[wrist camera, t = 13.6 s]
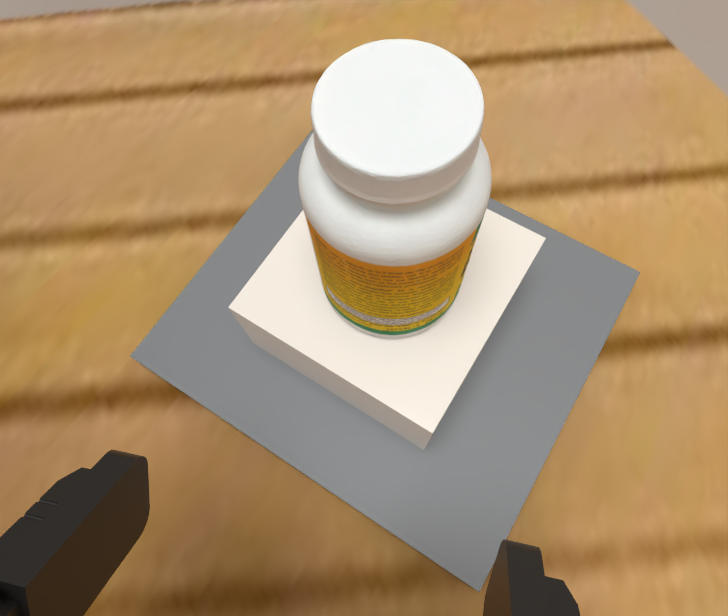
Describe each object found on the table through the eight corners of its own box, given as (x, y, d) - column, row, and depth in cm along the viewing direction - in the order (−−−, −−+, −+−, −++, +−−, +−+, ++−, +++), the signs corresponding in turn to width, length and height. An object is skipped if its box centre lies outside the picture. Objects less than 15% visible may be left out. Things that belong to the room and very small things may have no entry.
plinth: (253, 343, 26) (228, 307, 21) (359, 199, 28) (354, 142, 24) (424, 450, 24) (432, 433, 19) (519, 284, 26) (546, 238, 22)
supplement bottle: (311, 231, 22) (263, 35, 14) (439, 205, 23) (475, -5, 14) (337, 356, 20) (301, 223, 12) (478, 325, 21) (548, 172, 12)
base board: (140, 363, 27) (129, 356, 26) (326, 130, 31) (323, 115, 30) (474, 589, 23) (479, 592, 22) (629, 282, 27) (640, 272, 26)
